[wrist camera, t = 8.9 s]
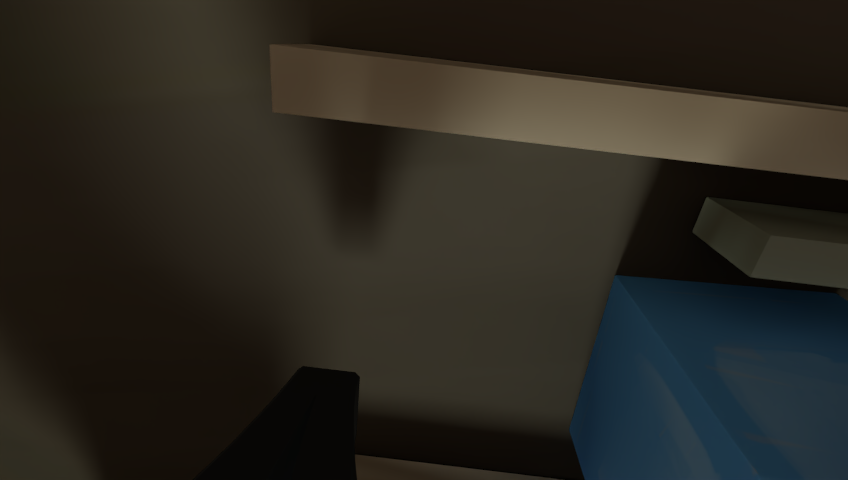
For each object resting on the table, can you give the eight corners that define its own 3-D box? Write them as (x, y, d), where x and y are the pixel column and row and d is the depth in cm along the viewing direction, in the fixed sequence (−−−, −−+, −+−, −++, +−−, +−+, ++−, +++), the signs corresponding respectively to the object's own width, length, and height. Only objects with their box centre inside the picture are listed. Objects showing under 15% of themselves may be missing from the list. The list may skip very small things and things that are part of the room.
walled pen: (752, 523, 16) (799, 598, 14) (313, 470, 16) (292, 536, 14) (1036, 129, 10) (1204, 154, 8) (309, 44, 10) (269, 44, 8)
